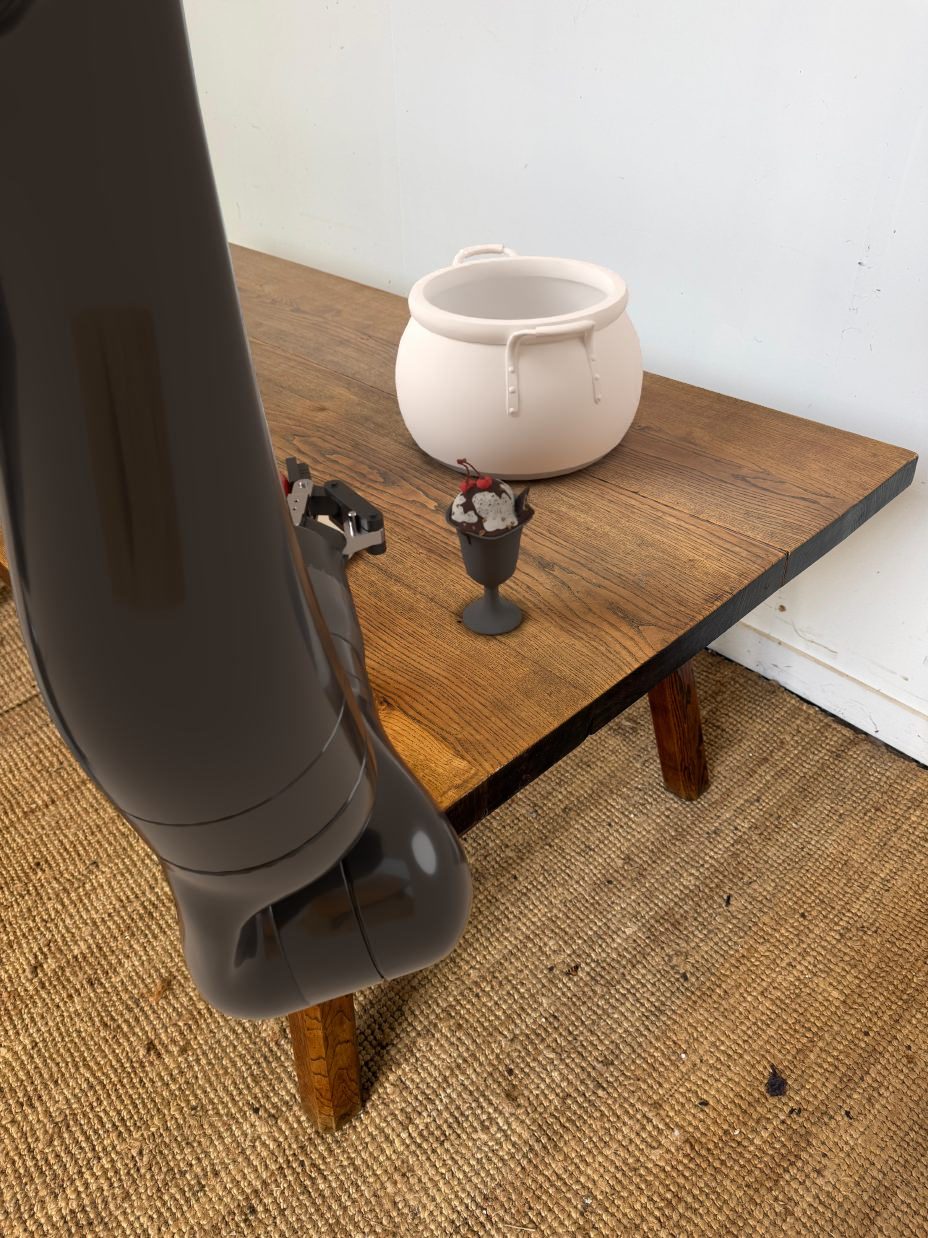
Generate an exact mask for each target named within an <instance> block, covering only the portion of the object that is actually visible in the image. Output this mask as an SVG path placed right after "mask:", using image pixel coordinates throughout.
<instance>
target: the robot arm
mask: <svg viewBox="0 0 928 1238" xmlns="http://www.w3.org/2000/svg"><path fill="white" fill-rule="evenodd" d="M190 43H191V42H190V36H189V31H188V25H187V19H186V14H185V7H184V0H0V526H1V527H0V528H1V534H2V539H3V540H2V541H3V545H4V550H5V551H4V552H5V556H6V557H5V558H6V562H7V568H8V574H9V579H10V584H11V590H12V595H13V600H14V605H15V606H14V607H15V612H16V615H17V619H18V623H19V628H20V632H21V636H22V640H23V644H24V646H25V649H26V653H27V657H28V659H29V662H30V667H31V669H32V672H33V675H34V679H35V681H36V685H37V687H38V690H39V693H40V695H41V698H42V700H43V703H44V706H45V707H46V711H47V713H48V715H49V717H50V719H51V720H52V722H53V725H54V726H55V728H56V730H57V732H58V734H59V736H60V738H61V739H62V741H63V742H64V744H65V745H66V747H67V748H68V750H69V751H70V752H71V754H72V755H73V758H75V760H76V761H77V763H78V764H79V765H80V767H81V769H82V770H83V771H84V773H85V775H86V776H87V777H88V779H90V780H91V782H92V783H93V784H94V785H95V786H96V788H97V789H98V790H99V791H100V792H101V794H102V795H103V796H104V797H105V798H106V799H107V801H109V803H110V804H111V805H112V806H113V808H115V810H116V811H117V812H118V814H119V815H120V816H121V817H122V818H123V819H124V821H125V822H126V823H127V824H128V826H129V827H131V829H132V830H133V831H134V832H135V833H136V835H137V836H138V837H139V838H140V839H141V841H142V842H143V843H144V844H145V845H146V846H147V847H148V849H149V850H150V851H151V852H152V853H153V854H154V856H155V857H156V859H157V862H158V864H159V866H160V868H161V870H162V873H163V875H164V877H165V879H166V883H167V885H168V887H169V890H170V893H171V896H172V900H173V902H174V906H175V912H176V920H177V926H178V933H179V940H180V945H181V951H182V955H183V958H184V962H185V965H186V967H187V971H188V974H189V976H190V980H191V982H192V984H193V986H194V987H195V989H196V990H197V992H198V994H199V996H200V997H201V998H202V999H203V1000H204V1002H205V1004H207V1005H208V1006H210V1007H211V1008H212V1009H213V1010H215V1011H216V1012H219V1013H221V1014H224V1015H226V1016H227V1017H231V1018H235V1019H240V1020H246V1021H267V1020H272V1019H277V1018H282V1017H285V1016H288V1015H291V1014H294V1013H297V1012H300V1011H303V1010H307V1009H309V1008H312V1007H314V1006H317V1005H319V1004H322V1003H325V1002H328V1001H330V1000H334V999H338V998H340V997H343V996H346V995H349V994H353V993H355V992H359V991H361V990H364V989H367V988H370V987H374V986H376V985H380V984H383V983H384V981H385V980H386V981H392V980H394V979H397V978H401V977H403V976H406V975H410V974H413V973H416V972H418V971H421V970H423V969H426V968H429V967H431V966H433V965H435V964H437V963H439V962H441V961H442V960H444V959H445V958H446V957H447V956H449V955H450V954H451V953H452V952H453V951H454V950H455V949H456V948H457V946H458V945H459V943H460V941H461V940H462V938H463V936H464V933H465V932H466V929H467V928H468V924H469V920H470V916H471V913H472V909H473V908H472V907H473V898H474V897H473V896H474V889H473V878H472V877H473V876H472V872H471V868H470V863H469V860H468V857H467V855H466V851H465V848H464V846H463V843H462V841H461V840H460V837H459V836H458V834H457V831H456V829H455V827H454V826H453V824H452V823H451V821H450V820H449V818H448V817H447V815H446V813H445V812H444V810H443V809H442V807H441V806H440V804H439V802H438V801H437V800H436V799H435V797H434V796H433V795H432V793H431V792H430V791H429V790H428V788H427V787H426V786H425V785H424V783H423V782H422V781H421V779H420V778H419V777H418V776H417V774H416V773H415V772H414V771H413V769H412V768H411V767H410V766H409V764H408V763H407V762H406V761H405V760H404V758H403V757H402V756H401V754H400V753H399V751H398V749H396V747H395V745H394V744H393V742H392V741H391V739H390V738H389V735H388V734H387V732H386V730H385V728H384V725H383V723H382V720H381V717H380V713H379V710H378V708H377V704H376V701H375V696H374V692H373V689H372V685H371V681H370V678H369V674H368V673H369V672H368V670H367V666H366V665H367V663H366V646H365V640H364V634H363V630H362V628H361V627H362V626H361V622H360V620H359V616H358V612H357V608H356V605H355V601H354V597H353V593H352V590H351V587H350V583H349V579H348V575H347V571H346V567H347V565H348V563H349V560H350V559H349V554H352V553H354V554H355V553H356V552H359V551H362V550H363V551H365V552H366V553H367V554H368V555H371V556H382V555H383V554H385V553H386V552H387V539H386V530H385V521H384V513H383V511H381V510H379V509H378V508H377V507H376V506H375V505H374V504H372V503H370V502H369V501H368V500H367V499H366V498H364V497H363V496H362V495H360V494H359V493H358V492H357V491H355V490H354V489H353V488H351V487H350V486H349V485H348V484H346V483H345V482H344V481H343V480H340V479H330V480H327V481H325V482H324V483H323V486H322V485H317V484H314V481H313V478H312V475H311V471H310V468H309V464H307V463H306V462H297V461H298V460H297V457H296V456H290V457H285V458H284V461H285V466H286V472H287V476H288V477H287V479H288V481H289V483H290V485H291V491H292V493H291V494H288V497H286V493H285V490H284V486H283V482H282V479H281V475H280V472H281V471H280V467H279V464H278V461H277V457H276V453H275V448H274V445H273V440H272V436H271V432H270V428H269V424H268V419H267V415H266V411H265V407H264V402H263V398H262V395H261V394H262V393H261V390H260V386H259V381H258V376H257V373H256V368H255V363H254V360H253V359H254V358H253V355H252V350H251V347H250V342H249V337H248V333H247V327H246V323H245V318H244V313H243V308H242V303H241V297H240V294H239V293H240V292H239V287H238V283H237V279H236V273H235V268H234V264H233V258H232V253H231V249H230V245H229V239H228V233H227V229H226V225H225V220H224V215H223V210H222V206H221V200H220V195H219V191H218V186H217V180H216V176H215V171H214V166H213V160H212V156H211V151H210V146H209V142H208V137H207V132H206V126H205V122H204V117H203V111H202V107H201V103H200V96H199V90H198V84H197V79H196V74H195V67H194V62H193V55H192V48H191V44H190ZM318 515H323V516H328V517H329V520H330V521H331V522H332V523H333V524H334V525H336V526H337V527H338V528H339V529H340V530H341V531H343V532H344V533H342V532H340V531H339V530H336V529H334V528H332V527H330V526H328V525H326V524H323V523H321V522H319V521H318Z"/></svg>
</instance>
